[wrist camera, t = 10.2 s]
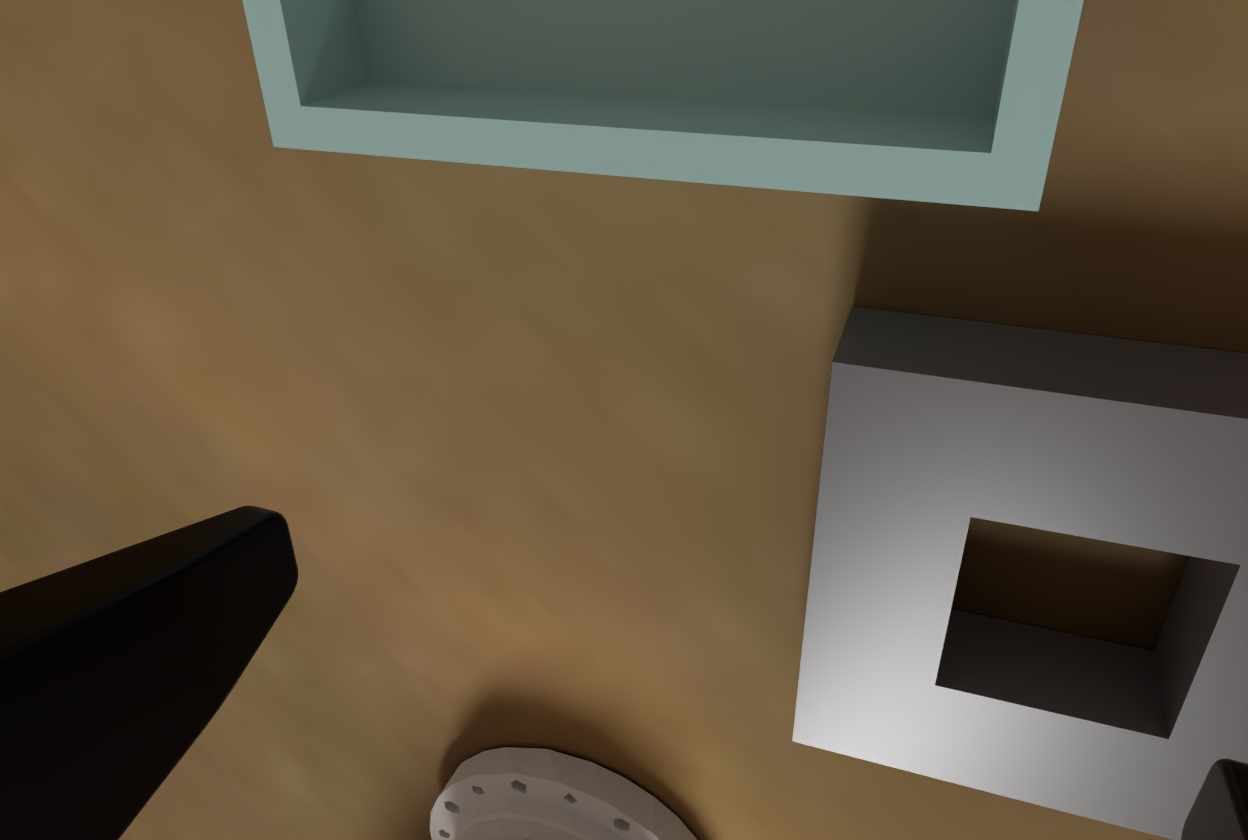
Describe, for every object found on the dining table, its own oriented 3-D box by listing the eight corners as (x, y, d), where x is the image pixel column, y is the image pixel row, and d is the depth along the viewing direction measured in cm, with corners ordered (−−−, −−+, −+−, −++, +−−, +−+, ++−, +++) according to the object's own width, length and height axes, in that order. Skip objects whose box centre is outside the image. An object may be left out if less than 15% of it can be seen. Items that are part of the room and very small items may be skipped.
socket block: (1454, 377, 16) (1517, 456, 14) (1258, 770, 21) (1283, 868, 19) (851, 306, 19) (832, 361, 17) (811, 665, 24) (792, 741, 22)
